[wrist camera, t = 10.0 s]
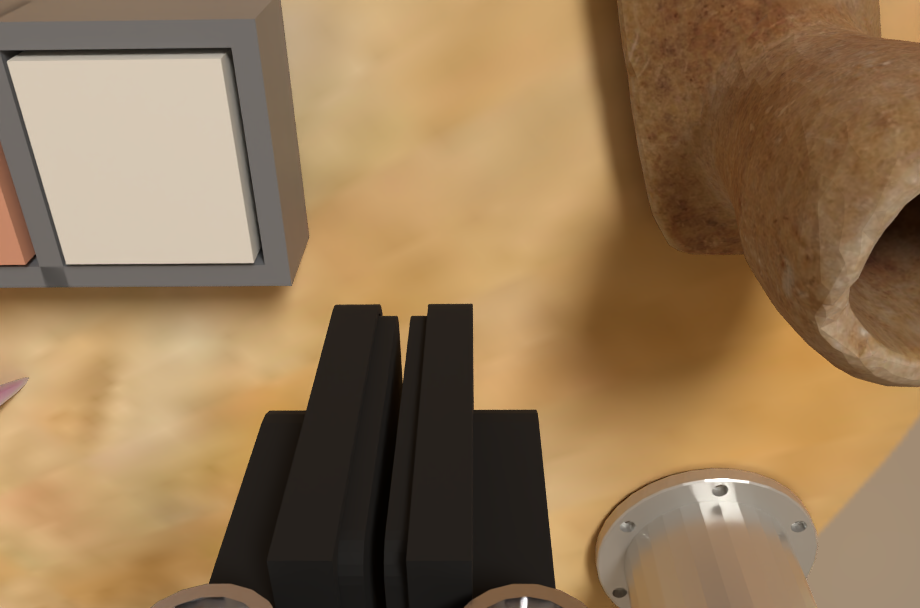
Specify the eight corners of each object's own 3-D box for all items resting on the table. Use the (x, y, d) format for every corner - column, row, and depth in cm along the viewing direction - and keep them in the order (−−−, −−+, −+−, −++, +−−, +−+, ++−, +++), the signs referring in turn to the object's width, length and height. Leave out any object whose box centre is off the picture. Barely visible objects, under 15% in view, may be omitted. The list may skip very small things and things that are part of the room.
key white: (266, 235, 37) (253, 262, 35) (89, 236, 37) (66, 264, 35) (237, 40, 33) (220, 58, 31) (36, 42, 33) (6, 61, 31)
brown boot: (906, 206, 39) (1118, 416, 26) (643, 255, 40) (722, 476, 27) (925, -165, 31) (1241, -125, 18) (600, -87, 33) (681, 0, 20)
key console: (309, 237, 40) (291, 285, 36) (-113, 240, 40) (-174, 288, 36) (279, -8, 34) (255, 18, 30) (-212, -2, 35) (-298, 25, 31)
